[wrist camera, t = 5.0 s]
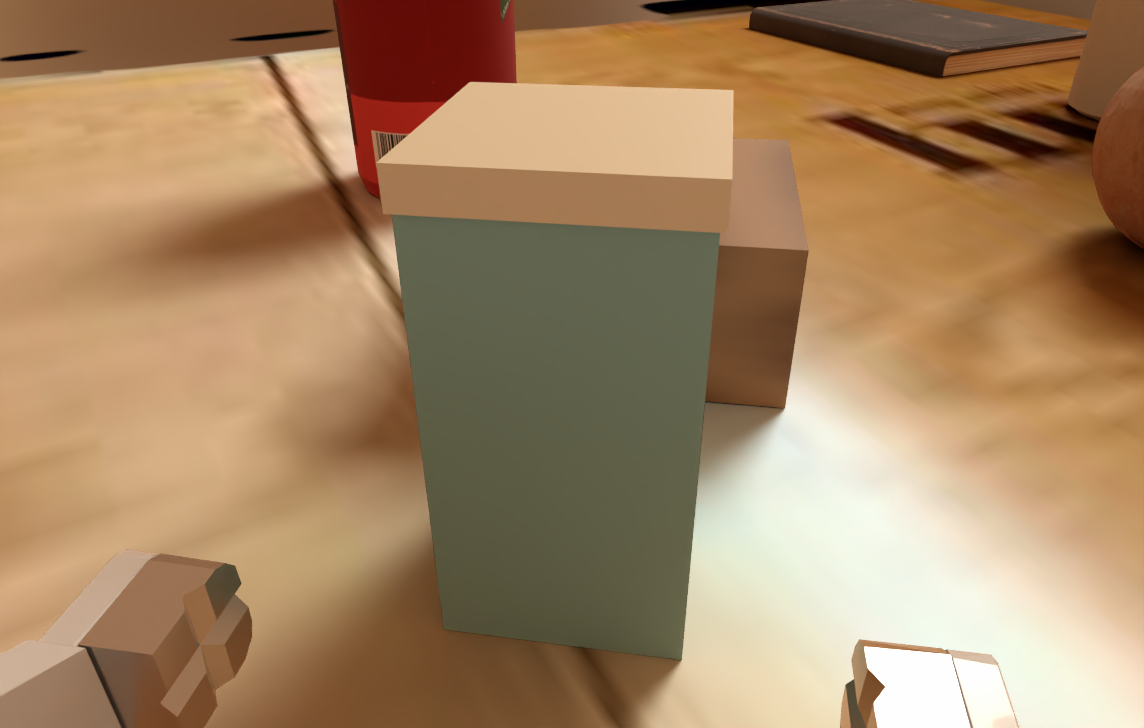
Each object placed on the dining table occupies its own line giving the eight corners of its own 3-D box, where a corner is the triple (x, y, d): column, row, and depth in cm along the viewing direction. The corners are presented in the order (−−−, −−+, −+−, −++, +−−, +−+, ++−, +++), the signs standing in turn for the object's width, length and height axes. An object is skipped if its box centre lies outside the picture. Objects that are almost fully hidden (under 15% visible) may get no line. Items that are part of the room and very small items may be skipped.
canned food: (544, 192, 41) (537, -62, 35) (380, 219, 38) (344, -53, 32) (489, 149, 47) (477, -74, 41) (345, 170, 44) (309, -67, 38)
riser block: (455, 380, 26) (441, 229, 23) (524, 251, 34) (519, 129, 32) (784, 407, 25) (808, 250, 22) (772, 266, 33) (788, 140, 30)
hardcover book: (877, 20, 84) (881, -5, 83) (1086, 62, 67) (1095, 32, 66) (747, 34, 78) (750, 8, 77) (938, 85, 61) (945, 52, 60)
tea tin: (437, 632, 18) (376, 162, 12) (497, 477, 22) (470, 81, 17) (686, 665, 17) (732, 179, 12) (696, 497, 21) (733, 90, 16)
